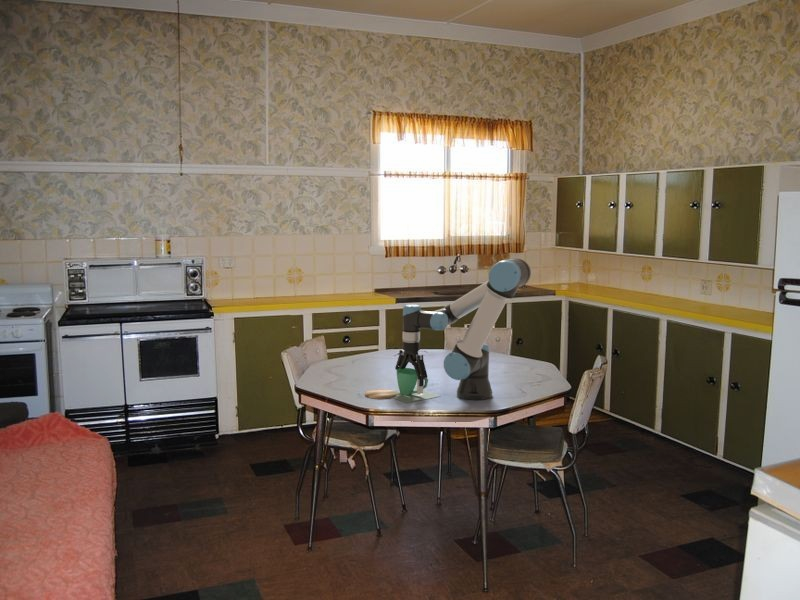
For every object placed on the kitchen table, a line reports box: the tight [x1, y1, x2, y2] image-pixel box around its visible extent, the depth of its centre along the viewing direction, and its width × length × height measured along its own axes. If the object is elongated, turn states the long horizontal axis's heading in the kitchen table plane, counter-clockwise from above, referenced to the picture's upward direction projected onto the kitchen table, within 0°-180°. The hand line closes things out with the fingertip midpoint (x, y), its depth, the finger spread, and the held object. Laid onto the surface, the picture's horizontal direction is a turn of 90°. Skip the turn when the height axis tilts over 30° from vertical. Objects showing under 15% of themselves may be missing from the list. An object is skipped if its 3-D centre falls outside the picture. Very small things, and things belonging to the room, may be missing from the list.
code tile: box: [392, 387, 441, 404], centre depth 315 cm, size 18×18×1 cm
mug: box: [396, 367, 429, 395], centre depth 315 cm, size 15×10×10 cm
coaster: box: [364, 388, 398, 400], centre depth 316 cm, size 14×14×1 cm
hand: (410, 390), depth 315 cm, fingers closed on mug, 12 cm apart
